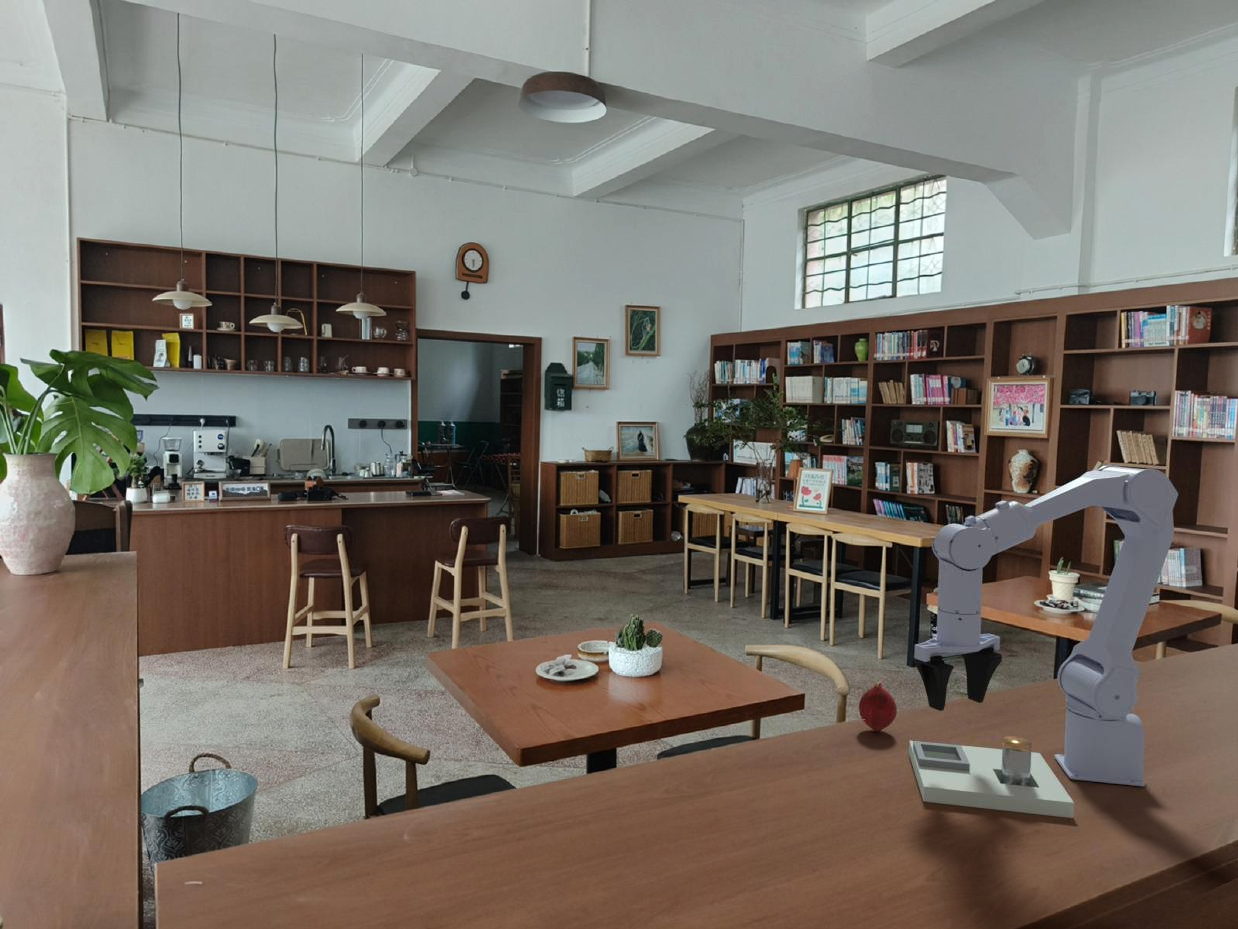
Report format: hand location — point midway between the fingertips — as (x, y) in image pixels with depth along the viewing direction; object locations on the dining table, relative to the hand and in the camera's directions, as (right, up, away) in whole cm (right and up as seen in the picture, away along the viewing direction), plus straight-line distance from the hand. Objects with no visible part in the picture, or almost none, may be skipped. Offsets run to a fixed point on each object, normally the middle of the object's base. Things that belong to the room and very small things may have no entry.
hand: (956, 704), depth 117 cm
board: (+3, -10, -3) cm, 11 cm away
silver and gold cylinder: (+6, -10, -6) cm, 13 cm away
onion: (-6, -9, +16) cm, 19 cm away
